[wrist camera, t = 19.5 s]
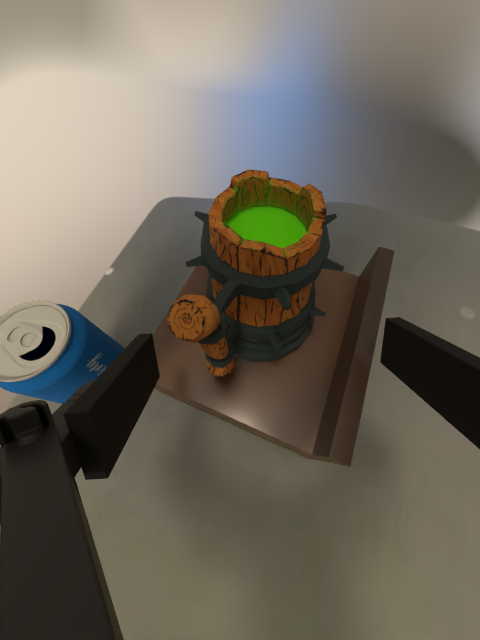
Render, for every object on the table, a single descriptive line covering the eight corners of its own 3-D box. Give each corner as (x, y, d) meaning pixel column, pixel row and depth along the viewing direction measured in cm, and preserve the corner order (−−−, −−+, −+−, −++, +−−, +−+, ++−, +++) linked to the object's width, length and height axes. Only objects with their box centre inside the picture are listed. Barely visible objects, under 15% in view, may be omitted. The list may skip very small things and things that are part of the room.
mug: (235, 249, 26) (226, 116, 15) (333, 289, 23) (402, 163, 13) (158, 360, 21) (68, 275, 10) (273, 424, 18) (306, 398, 8)
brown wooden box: (158, 390, 27) (105, 357, 17) (222, 273, 33) (211, 200, 23) (307, 458, 23) (350, 467, 14) (346, 315, 30) (394, 250, 20)
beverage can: (122, 422, 25) (29, 405, 14) (69, 399, 26) (-54, 366, 16) (154, 363, 28) (95, 311, 17) (104, 343, 29) (20, 284, 18)
